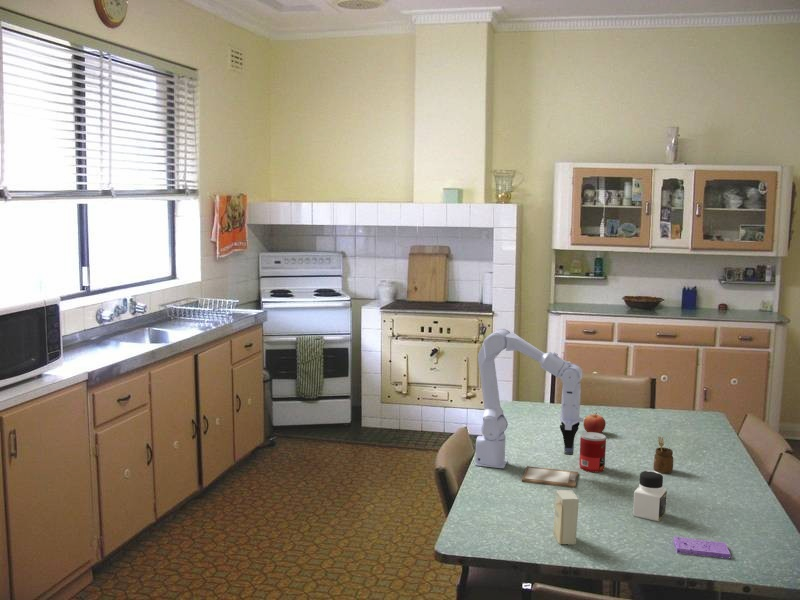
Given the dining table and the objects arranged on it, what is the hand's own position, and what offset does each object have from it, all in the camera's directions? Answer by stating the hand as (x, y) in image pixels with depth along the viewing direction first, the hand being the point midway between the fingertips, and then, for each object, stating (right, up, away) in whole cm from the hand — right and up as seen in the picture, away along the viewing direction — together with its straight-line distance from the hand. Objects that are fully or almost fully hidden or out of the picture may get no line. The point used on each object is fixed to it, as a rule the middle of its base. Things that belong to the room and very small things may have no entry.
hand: (568, 446), depth 247 cm
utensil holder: (+32, -9, +7) cm, 34 cm away
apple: (+19, -4, +46) cm, 50 cm away
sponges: (+22, -17, -51) cm, 58 cm away
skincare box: (-11, -15, -46) cm, 50 cm away
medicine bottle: (+16, -14, -29) cm, 36 cm away
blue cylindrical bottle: (0, -2, 0) cm, 3 cm away
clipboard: (-6, -10, -1) cm, 11 cm away
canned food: (+9, -9, +8) cm, 15 cm away
